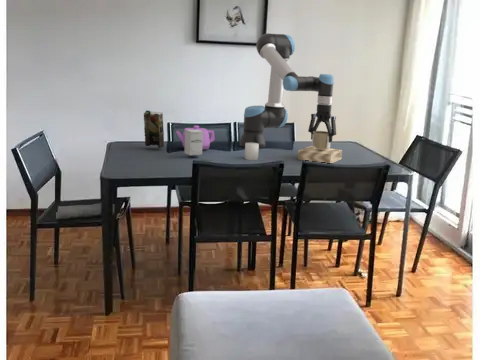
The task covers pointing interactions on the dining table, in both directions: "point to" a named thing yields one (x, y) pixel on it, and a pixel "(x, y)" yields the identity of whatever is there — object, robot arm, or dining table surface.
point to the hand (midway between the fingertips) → (320, 147)
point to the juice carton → (153, 128)
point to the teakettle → (205, 136)
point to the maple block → (319, 154)
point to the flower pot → (320, 139)
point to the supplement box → (193, 142)
